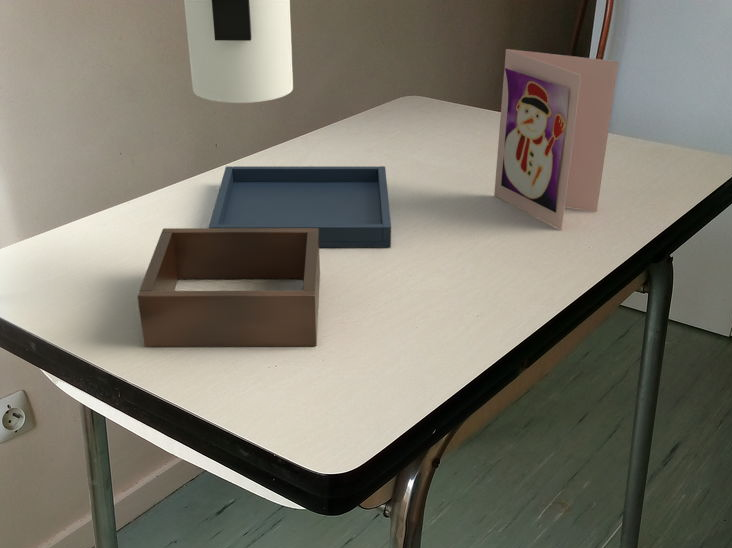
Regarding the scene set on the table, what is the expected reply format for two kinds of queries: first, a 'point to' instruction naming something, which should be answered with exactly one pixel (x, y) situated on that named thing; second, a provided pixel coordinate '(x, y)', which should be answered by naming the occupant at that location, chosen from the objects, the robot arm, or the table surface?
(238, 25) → the robot arm
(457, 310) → the table surface
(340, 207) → the tray
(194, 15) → the cup
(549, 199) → the greeting card
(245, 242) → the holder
